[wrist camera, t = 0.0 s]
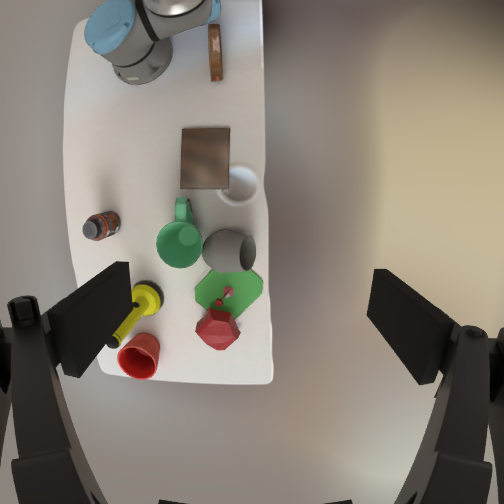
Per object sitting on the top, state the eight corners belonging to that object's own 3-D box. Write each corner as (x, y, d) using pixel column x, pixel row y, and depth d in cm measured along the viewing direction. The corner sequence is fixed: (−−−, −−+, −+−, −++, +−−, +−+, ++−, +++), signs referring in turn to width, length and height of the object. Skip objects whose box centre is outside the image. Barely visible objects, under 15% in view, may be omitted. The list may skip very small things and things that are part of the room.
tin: (209, 33, 57) (205, 18, 49) (222, 32, 57) (219, 16, 49) (212, 86, 61) (207, 74, 53) (225, 84, 61) (222, 73, 53)
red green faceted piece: (177, 306, 74) (169, 323, 66) (230, 251, 71) (227, 262, 62) (221, 342, 77) (218, 361, 68) (275, 291, 73) (278, 307, 65)
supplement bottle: (125, 225, 69) (105, 234, 58) (109, 238, 70) (88, 249, 59) (113, 205, 68) (91, 211, 57) (97, 219, 69) (74, 227, 58)
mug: (208, 257, 71) (202, 269, 61) (168, 255, 71) (156, 267, 61) (210, 195, 68) (203, 198, 58) (168, 194, 67) (155, 197, 58)
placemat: (182, 129, 64) (182, 128, 63) (230, 128, 64) (230, 128, 63) (180, 188, 67) (180, 188, 67) (228, 189, 67) (228, 189, 67)
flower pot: (171, 357, 78) (162, 378, 69) (138, 362, 79) (127, 381, 69) (157, 325, 76) (146, 343, 66) (123, 331, 76) (110, 348, 67)
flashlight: (131, 370, 51) (130, 331, 49) (91, 358, 50) (87, 319, 48) (163, 314, 75) (165, 283, 73) (131, 307, 74) (132, 276, 72)
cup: (195, 231, 63) (236, 232, 59) (220, 228, 71) (257, 229, 67) (197, 275, 65) (237, 280, 60) (220, 267, 73) (257, 271, 68)
